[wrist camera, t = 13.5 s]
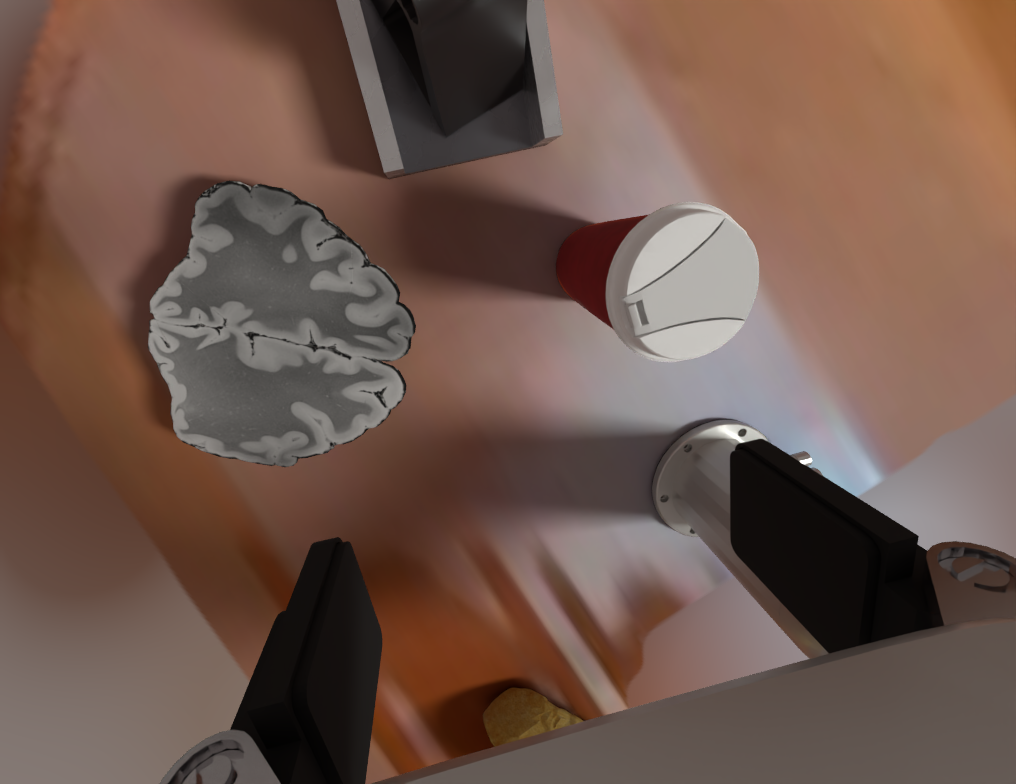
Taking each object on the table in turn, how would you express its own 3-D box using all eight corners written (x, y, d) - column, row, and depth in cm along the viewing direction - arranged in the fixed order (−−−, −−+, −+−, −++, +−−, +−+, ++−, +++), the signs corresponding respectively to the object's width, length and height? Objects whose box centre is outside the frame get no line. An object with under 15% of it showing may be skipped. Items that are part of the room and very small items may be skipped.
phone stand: (364, -12, 28) (328, -165, 17) (450, -66, 28) (470, -256, 17) (445, 138, 31) (459, 92, 20) (521, 90, 31) (578, 18, 20)
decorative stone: (632, 668, 50) (573, 805, 39) (645, 775, 54) (595, 931, 42) (529, 634, 58) (453, 740, 46) (546, 730, 61) (479, 852, 49)
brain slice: (389, 463, 40) (387, 481, 37) (165, 431, 36) (144, 448, 33) (437, 230, 35) (438, 231, 32) (178, 159, 30) (154, 153, 28)
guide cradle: (505, -109, 28) (519, -166, 24) (545, 145, 34) (563, 134, 29) (317, -79, 27) (299, -132, 23) (388, 179, 32) (384, 172, 28)
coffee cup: (561, 332, 39) (641, 394, 25) (526, 235, 35) (595, 243, 22) (653, 291, 39) (784, 329, 25) (626, 190, 36) (758, 170, 22)
